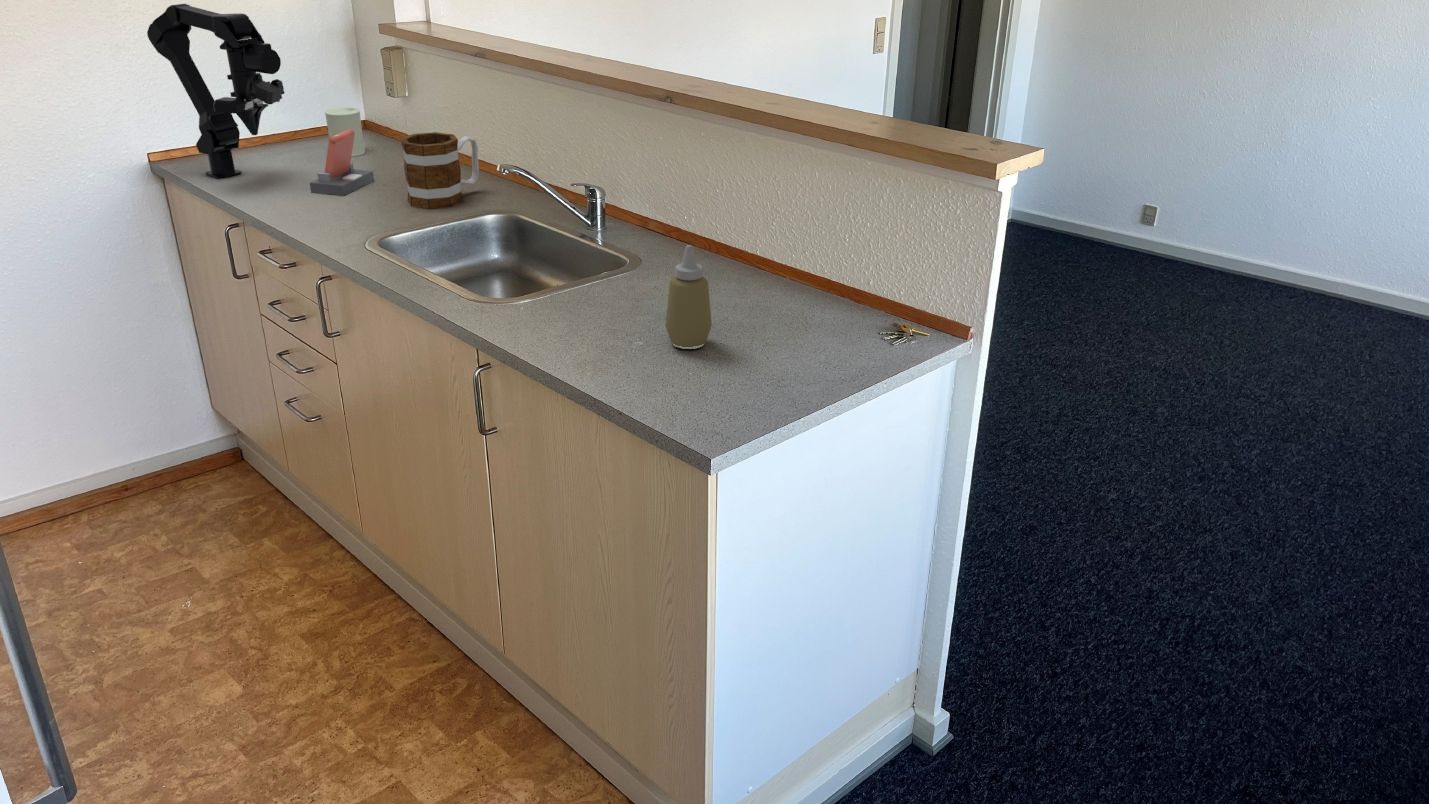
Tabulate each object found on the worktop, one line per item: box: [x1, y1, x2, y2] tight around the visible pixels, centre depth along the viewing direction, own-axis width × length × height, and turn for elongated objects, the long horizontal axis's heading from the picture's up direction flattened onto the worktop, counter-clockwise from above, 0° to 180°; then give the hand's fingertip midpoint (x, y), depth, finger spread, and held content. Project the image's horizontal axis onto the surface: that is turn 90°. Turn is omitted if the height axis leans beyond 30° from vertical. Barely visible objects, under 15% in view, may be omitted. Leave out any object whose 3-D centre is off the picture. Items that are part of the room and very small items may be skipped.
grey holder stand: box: [309, 162, 375, 197], centre depth 264 cm, size 9×14×4 cm, turn 165°
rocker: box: [324, 129, 355, 179], centre depth 261 cm, size 2×8×11 cm, turn 166°
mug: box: [400, 131, 480, 210], centre depth 254 cm, size 20×14×15 cm
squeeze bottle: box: [664, 244, 713, 347], centre depth 181 cm, size 8×8×18 cm
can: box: [324, 107, 366, 158], centre depth 291 cm, size 9×9×12 cm
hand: (254, 134), depth 261 cm, fingers closed
